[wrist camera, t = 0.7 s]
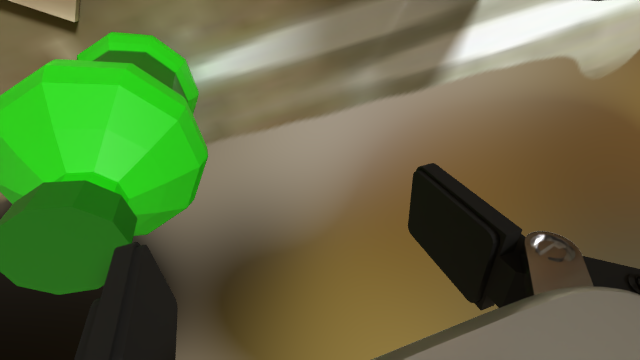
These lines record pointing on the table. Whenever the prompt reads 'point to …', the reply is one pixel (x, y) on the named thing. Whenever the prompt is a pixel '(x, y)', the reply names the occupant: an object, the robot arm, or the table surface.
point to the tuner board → (55, 7)
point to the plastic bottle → (95, 159)
